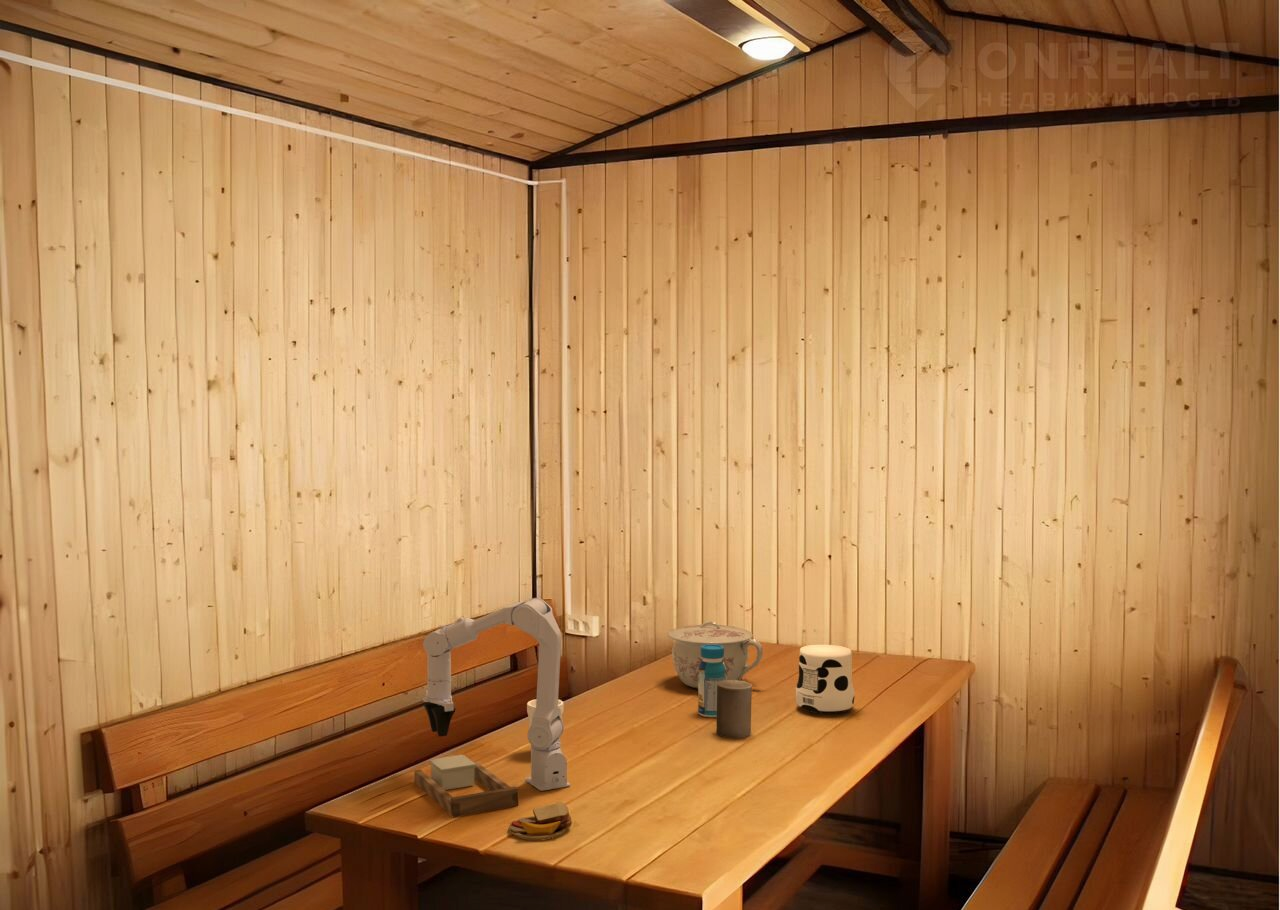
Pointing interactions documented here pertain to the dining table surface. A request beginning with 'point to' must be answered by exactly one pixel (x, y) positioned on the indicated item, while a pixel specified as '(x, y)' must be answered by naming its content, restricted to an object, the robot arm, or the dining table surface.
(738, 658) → the chamber pot
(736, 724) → the pillar candle
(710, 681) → the beverage bottle
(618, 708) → the dining table surface
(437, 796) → the bay
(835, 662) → the milk container
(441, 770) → the beige square block
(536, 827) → the toy sandwich meal
